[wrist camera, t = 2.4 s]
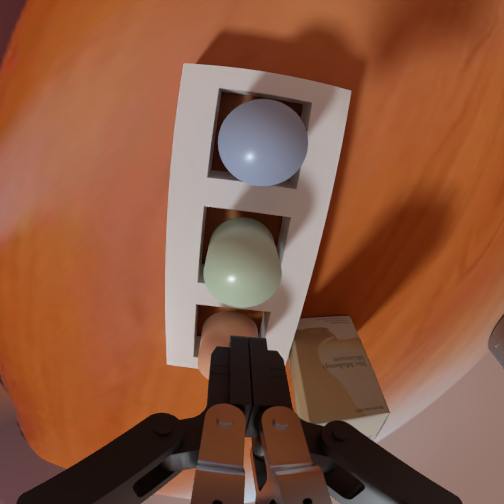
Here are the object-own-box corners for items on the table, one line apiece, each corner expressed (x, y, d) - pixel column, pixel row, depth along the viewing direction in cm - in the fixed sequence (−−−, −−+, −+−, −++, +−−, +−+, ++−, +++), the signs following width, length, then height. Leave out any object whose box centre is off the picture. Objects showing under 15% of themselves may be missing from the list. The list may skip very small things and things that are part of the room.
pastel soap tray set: (337, 93, 20) (351, 90, 17) (278, 354, 30) (282, 375, 28) (190, 70, 19) (183, 63, 16) (171, 343, 29) (167, 364, 26)
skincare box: (350, 313, 28) (396, 411, 17) (343, 345, 30) (378, 440, 19) (286, 318, 28) (309, 426, 17) (283, 350, 30) (301, 453, 19)
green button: (280, 221, 21) (288, 244, 18) (268, 280, 23) (273, 310, 20) (212, 213, 21) (206, 234, 17) (206, 273, 23) (201, 303, 19)
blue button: (300, 109, 18) (314, 108, 15) (288, 178, 20) (299, 192, 17) (227, 98, 18) (224, 93, 14) (217, 168, 20) (212, 180, 16)
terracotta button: (261, 313, 25) (265, 346, 21) (253, 354, 27) (255, 387, 23) (203, 307, 24) (198, 339, 21) (200, 349, 26) (196, 382, 23)
